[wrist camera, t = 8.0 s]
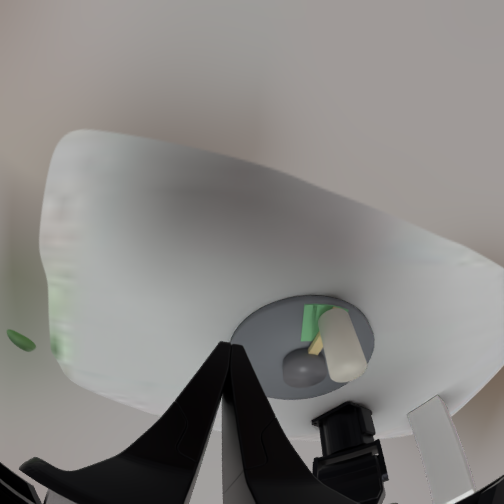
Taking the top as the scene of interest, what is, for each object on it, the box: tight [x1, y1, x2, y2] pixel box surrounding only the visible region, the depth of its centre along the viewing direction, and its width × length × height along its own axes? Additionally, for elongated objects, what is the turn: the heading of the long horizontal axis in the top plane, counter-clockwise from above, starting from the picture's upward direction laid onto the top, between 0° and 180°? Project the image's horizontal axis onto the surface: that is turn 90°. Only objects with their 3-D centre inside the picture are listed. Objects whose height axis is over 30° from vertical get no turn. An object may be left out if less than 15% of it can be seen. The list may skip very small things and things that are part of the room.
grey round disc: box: [230, 295, 374, 400], centre depth 24 cm, size 14×14×1 cm
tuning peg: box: [282, 307, 367, 388], centre depth 20 cm, size 9×4×6 cm, turn 163°
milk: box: [407, 395, 476, 504], centre depth 22 cm, size 6×6×22 cm
